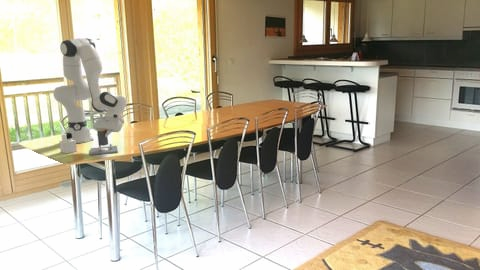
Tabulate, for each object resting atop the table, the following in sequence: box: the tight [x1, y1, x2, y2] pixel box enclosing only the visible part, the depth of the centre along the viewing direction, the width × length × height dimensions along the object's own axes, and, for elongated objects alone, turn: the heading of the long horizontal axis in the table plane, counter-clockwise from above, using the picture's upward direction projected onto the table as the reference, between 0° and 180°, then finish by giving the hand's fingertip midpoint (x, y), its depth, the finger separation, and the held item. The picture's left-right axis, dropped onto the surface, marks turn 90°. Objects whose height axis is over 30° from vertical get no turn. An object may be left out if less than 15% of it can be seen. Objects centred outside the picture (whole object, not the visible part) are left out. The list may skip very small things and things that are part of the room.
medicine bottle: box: [58, 132, 78, 155], centre depth 265 cm, size 7×7×12 cm
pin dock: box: [89, 143, 119, 156], centre depth 265 cm, size 16×16×4 cm
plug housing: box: [96, 129, 109, 147], centre depth 263 cm, size 4×4×10 cm
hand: (101, 136), depth 262 cm, fingers closed on plug housing, 4 cm apart
